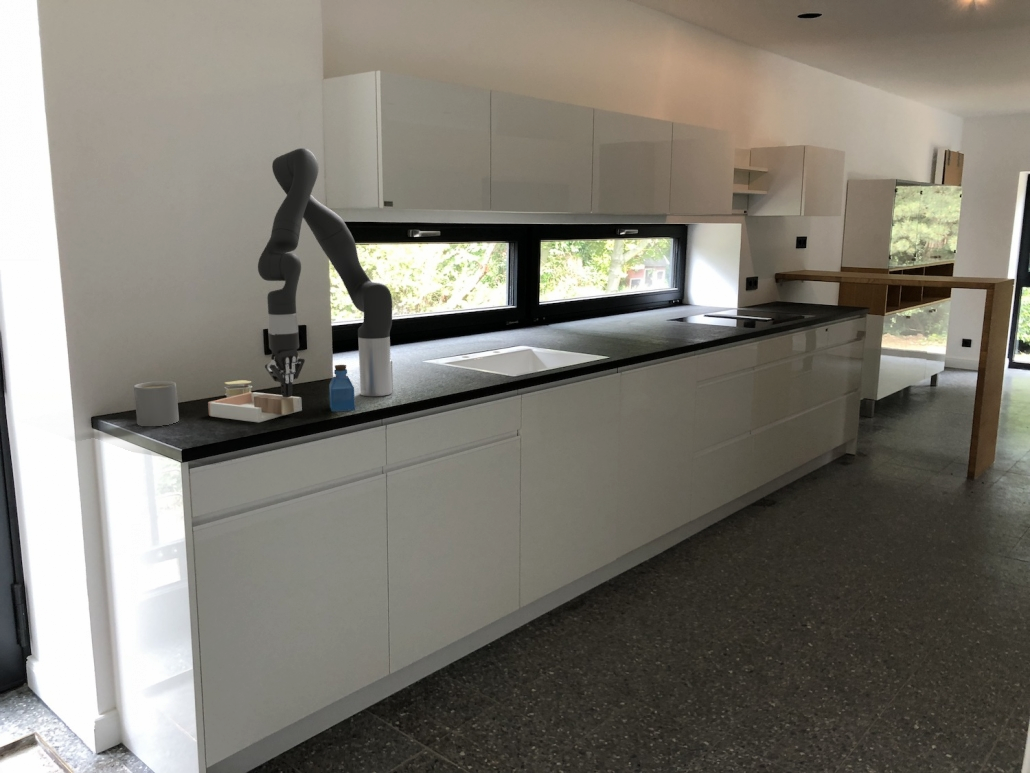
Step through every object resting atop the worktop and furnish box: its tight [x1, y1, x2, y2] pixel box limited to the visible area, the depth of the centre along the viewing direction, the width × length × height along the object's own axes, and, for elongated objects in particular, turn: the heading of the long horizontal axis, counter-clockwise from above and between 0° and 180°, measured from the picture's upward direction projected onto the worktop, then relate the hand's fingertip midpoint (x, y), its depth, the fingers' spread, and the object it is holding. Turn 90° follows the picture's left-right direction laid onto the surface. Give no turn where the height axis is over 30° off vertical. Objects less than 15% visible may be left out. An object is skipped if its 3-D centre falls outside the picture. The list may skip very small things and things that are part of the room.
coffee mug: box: [133, 380, 180, 427], centre depth 219 cm, size 13×10×10 cm
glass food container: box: [224, 379, 253, 398], centre depth 247 cm, size 10×9×6 cm
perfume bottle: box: [328, 364, 356, 413], centre depth 233 cm, size 6×6×12 cm
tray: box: [207, 391, 303, 423], centre depth 229 cm, size 16×18×4 cm
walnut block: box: [254, 393, 295, 416], centre depth 225 cm, size 4×4×10 cm
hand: (287, 396), depth 223 cm, fingers closed
